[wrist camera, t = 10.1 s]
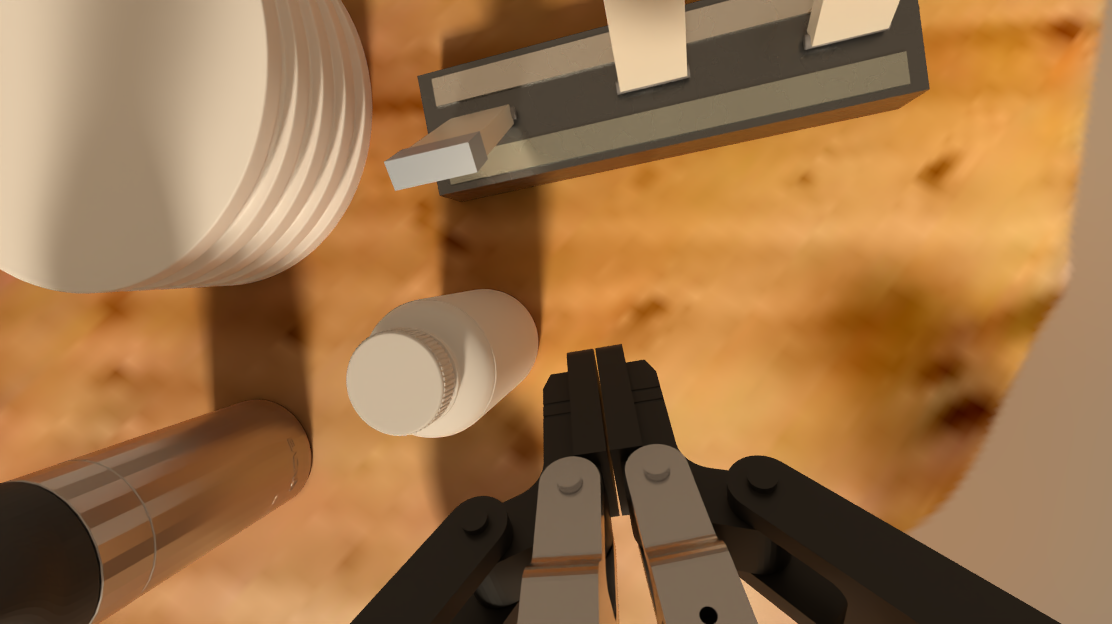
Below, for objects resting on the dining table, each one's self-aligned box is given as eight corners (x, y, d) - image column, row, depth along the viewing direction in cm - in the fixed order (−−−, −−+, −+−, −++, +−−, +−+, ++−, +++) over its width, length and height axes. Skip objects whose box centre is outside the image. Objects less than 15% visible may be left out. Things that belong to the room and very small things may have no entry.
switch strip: (898, 108, 34) (931, 88, 30) (460, 201, 40) (438, 195, 36) (881, -19, 34) (912, -58, 30) (441, 94, 40) (416, 75, 36)
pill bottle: (421, 321, 42) (293, 354, 27) (506, 268, 40) (419, 272, 25) (472, 410, 42) (372, 490, 27) (560, 360, 40) (503, 417, 25)
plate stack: (37, -5, 46) (-164, -91, 35) (324, -125, 40) (194, -275, 29) (122, 315, 47) (-46, 332, 36) (410, 242, 42) (318, 236, 30)
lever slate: (518, 122, 35) (479, 171, 25) (456, 137, 36) (393, 191, 26) (513, 100, 34) (470, 141, 24) (449, 116, 35) (382, 162, 25)
